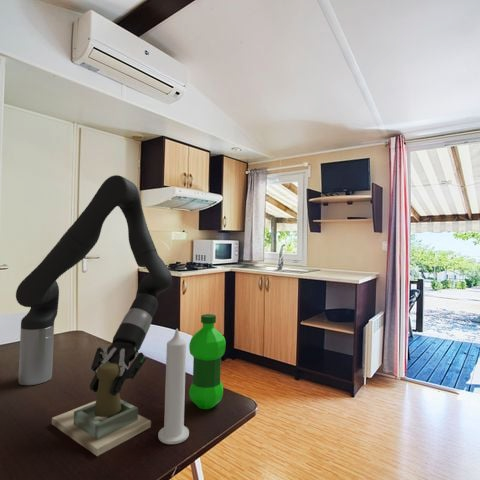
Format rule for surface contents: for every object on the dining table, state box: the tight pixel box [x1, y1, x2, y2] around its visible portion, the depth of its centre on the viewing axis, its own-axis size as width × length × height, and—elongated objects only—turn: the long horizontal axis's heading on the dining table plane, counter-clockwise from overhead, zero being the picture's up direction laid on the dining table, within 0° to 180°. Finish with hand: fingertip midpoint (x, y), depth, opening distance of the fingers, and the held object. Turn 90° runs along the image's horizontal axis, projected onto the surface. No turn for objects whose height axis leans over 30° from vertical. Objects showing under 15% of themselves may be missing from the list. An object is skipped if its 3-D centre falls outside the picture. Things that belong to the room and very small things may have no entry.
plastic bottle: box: [188, 313, 226, 410], centre depth 91 cm, size 10×10×25 cm
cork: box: [94, 362, 121, 417], centre depth 78 cm, size 6×6×11 cm
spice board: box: [51, 398, 152, 457], centre depth 79 cm, size 20×14×4 cm
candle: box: [157, 328, 190, 445], centre depth 76 cm, size 7×7×25 cm
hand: (102, 392), depth 76 cm, fingers closed on cork, 5 cm apart
